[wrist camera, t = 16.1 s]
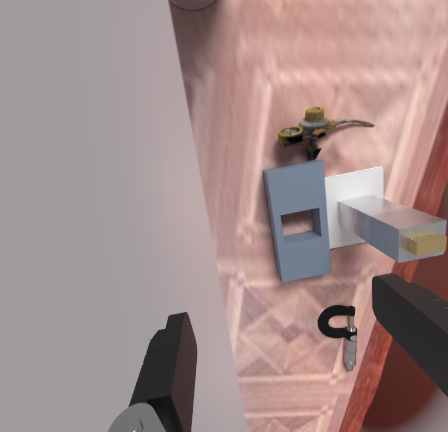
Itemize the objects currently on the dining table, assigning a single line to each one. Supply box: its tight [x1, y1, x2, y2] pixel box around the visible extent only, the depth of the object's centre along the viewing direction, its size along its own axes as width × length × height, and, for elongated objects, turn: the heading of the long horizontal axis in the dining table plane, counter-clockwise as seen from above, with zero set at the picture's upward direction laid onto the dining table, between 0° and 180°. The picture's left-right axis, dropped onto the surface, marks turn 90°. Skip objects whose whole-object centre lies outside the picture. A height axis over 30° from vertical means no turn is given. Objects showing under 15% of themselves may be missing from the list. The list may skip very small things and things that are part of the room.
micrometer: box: [318, 305, 357, 371], centre depth 46 cm, size 15×7×2 cm, turn 7°
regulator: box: [278, 107, 374, 160], centre depth 34 cm, size 8×4×15 cm
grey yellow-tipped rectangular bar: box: [338, 195, 447, 263], centre depth 31 cm, size 4×5×14 cm
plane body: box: [263, 160, 331, 282], centre depth 38 cm, size 18×8×3 cm, turn 11°
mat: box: [325, 166, 383, 249], centre depth 39 cm, size 12×9×1 cm
